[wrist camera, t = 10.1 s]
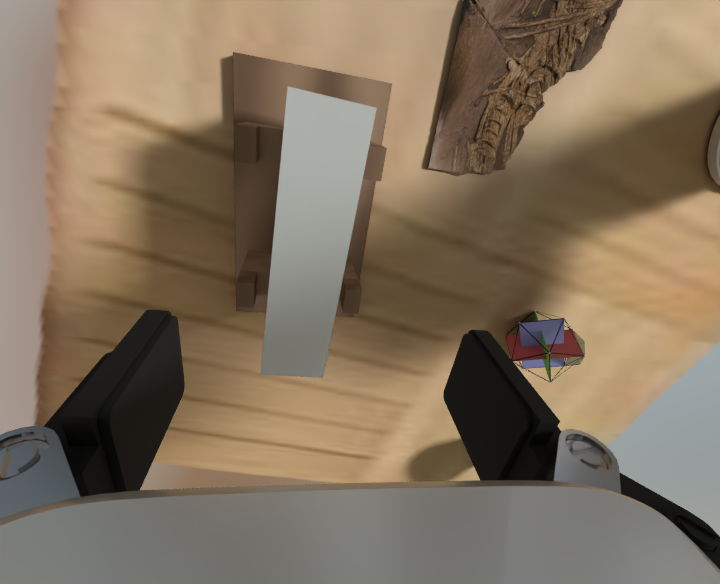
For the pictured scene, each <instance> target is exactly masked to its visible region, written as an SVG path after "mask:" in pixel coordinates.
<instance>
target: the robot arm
mask: <svg viewBox="0 0 720 584" xmlns="http://www.w3.org/2000/svg"><path fill="white" fill-rule="evenodd" d="M707 156H708V168H709V171H710V175H711V177H712V178H713V180H714V181H715V183H716V184H718V185H719V186H720V115H719V117H718V119H717V121H716V124H715V126H714V128H713V131H712V135H711V138H710V141H709V147H708V154H707ZM183 392H184V374H183V365H182V356H181V347H180V337H179V328H178V320H177V317H176V316H171V313H170V312H169V311H161V310H147V311H146V312H145V313H144V314H143V315H142V316H141V317H140V319H139V320H138V321H137V322H136V324H135V325H134V326H133V327H132V328H131V330H130V331H129V332H128V333H127V334H126V336H125V337H124V338H123V339H122V340H121V342H120V343H119V344H118V345H117V347H116V348H115V349H114V350H113V351H112V352H110V353H107V354H105V355H104V356H103V357H102V358H101V359H100V361H99V362H98V363H97V364H96V365H95V367H94V368H93V369H92V370H91V371H90V372H89V374H88V375H87V376H86V377H85V378H84V380H83V381H82V382H81V383H80V384H79V385H78V387H77V388H76V389H75V390H74V391H73V392H72V394H71V395H70V396H69V397H68V398H67V400H66V401H65V402H64V403H63V404H62V405H61V407H60V408H59V409H58V410H57V411H56V413H55V414H54V415H53V416H52V417H51V418H50V420H49V421H48V422H47V423H46V424H45V426H44V427H40V426H31V427H24V428H19V429H16V430H13V431H9V432H6V433H4V434H1V435H0V584H720V537H719V535H718V534H716V532H715V531H714V530H713V529H712V528H711V527H710V526H709V525H708V524H706V523H705V522H704V521H703V520H701V519H700V518H698V517H697V516H695V515H693V514H692V513H690V512H689V511H687V510H685V509H684V508H682V507H680V506H678V505H676V504H675V503H673V502H671V501H669V500H667V499H666V498H664V497H662V496H660V495H659V494H657V493H655V492H653V491H651V490H650V489H648V488H646V487H644V486H643V485H641V484H639V483H637V482H635V481H634V480H632V479H630V478H628V477H627V476H625V475H623V474H621V473H619V465H618V462H617V459H616V458H615V456H614V455H613V453H612V452H611V451H610V450H609V449H608V448H607V447H606V446H605V445H604V444H603V443H602V442H600V441H599V440H598V439H596V438H595V437H593V436H591V435H589V434H587V433H585V432H582V431H579V430H574V429H566V430H564V431H562V432H561V431H560V429H559V428H558V427H557V426H558V424H559V422H560V421H559V420H558V418H557V417H556V416H555V414H554V413H553V412H552V411H551V409H550V408H549V407H548V406H547V404H546V403H545V402H544V401H543V399H542V398H541V397H540V396H539V394H538V393H537V392H536V391H535V389H534V388H533V387H532V385H531V384H530V383H529V382H528V380H527V379H526V378H525V377H524V375H523V374H522V373H521V372H520V370H519V369H518V368H517V367H516V365H515V364H514V363H513V362H512V360H511V359H510V358H509V357H508V355H507V354H506V353H505V351H504V350H503V349H502V348H501V346H500V345H499V344H498V343H497V341H496V340H495V339H494V338H493V336H492V335H491V334H490V333H489V332H488V331H482V330H470V331H469V332H468V334H465V335H464V336H463V339H462V341H461V344H460V347H459V350H458V353H457V355H456V358H455V361H454V364H453V367H452V370H451V372H450V375H449V378H448V381H447V384H446V387H445V389H444V401H445V403H446V405H447V407H448V410H449V412H450V414H451V416H452V418H453V421H454V423H455V425H456V427H457V430H458V432H459V434H460V436H461V438H462V441H463V443H464V445H465V447H466V449H467V452H468V454H469V456H470V458H471V460H472V463H473V465H474V467H475V469H476V471H477V474H478V476H479V478H480V480H481V481H429V482H383V483H342V484H304V485H271V486H270V485H269V486H236V487H205V488H183V489H161V490H140V488H141V486H142V484H143V481H144V479H145V477H146V475H147V473H148V470H149V468H150V466H151V464H152V462H153V460H154V457H155V455H156V453H157V451H158V449H159V446H160V444H161V442H162V440H163V437H164V435H165V433H166V431H167V429H168V426H169V424H170V422H171V420H172V418H173V415H174V413H175V411H176V409H177V407H178V404H179V402H180V400H181V398H182V395H183Z"/></svg>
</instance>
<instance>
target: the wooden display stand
mask: <svg viewBox="0 0 720 584" xmlns="http://www.w3.org/2000/svg"><path fill="white" fill-rule="evenodd" d="M288 86H289V87H293V88H297V89H301V90H305V91H309V92H313V93H318V94H322V95H326V96H330V97H334V98H338V99H342V100H346V101H351V102H355V103H359V104H363V105H367V106H371V107H375V108H377V109H376V114H375V119H374V124H373V130H372V135H371V140H370V145H369V150H368V155H367V160H366V165H365V170H364V175H363V180H362V185H361V190H360V195H359V200H358V205H357V210H356V215H355V220H354V225H353V230H352V235H351V240H350V245H349V250H348V255H347V260H346V265H345V270H344V275H343V280H342V285H341V290H340V295H339V300H338V305H337V310H336V315H335V316H345V317H353V314H354V313H358V310H359V304H360V298H361V293H362V290H361V287H360V284H359V278H360V272H361V266H362V260H363V254H364V248H365V242H366V236H367V230H368V224H369V218H370V212H371V206H372V200H373V194H374V188H375V182H376V181H381V178H382V172H383V166H384V160H385V154H386V149H387V148H385V147H383V146H382V140H383V134H384V128H385V122H386V116H387V110H388V104H389V99H390V93H391V87H392V84H391V83H386V82H381V81H376V80H371V79H366V78H361V77H356V76H351V75H346V74H341V73H336V72H331V71H326V70H321V69H316V68H311V67H306V66H301V65H296V64H291V63H285V62H280V61H275V60H270V59H265V58H260V57H255V56H250V55H245V54H240V53H235V52H233V88H234V166H235V244H236V311H247V312H266V310H267V300H268V289H269V279H270V268H271V257H272V247H273V236H274V226H275V215H276V204H277V194H278V183H279V172H280V162H281V151H282V141H283V130H284V119H285V109H286V98H287V88H288Z"/></svg>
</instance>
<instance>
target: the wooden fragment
mask: <svg viewBox="0 0 720 584" xmlns="http://www.w3.org/2000/svg"><path fill="white" fill-rule="evenodd" d="M475 1H476V2H477V3H476V4H473V3H472V1H471V0H464V3H463V9H462V20H461V23H460V27H459V32H458V36H457V41H456V46H455V50H454V54H453V58H452V63H451V68H450V72H449V76H448V80H447V85H446V90H445V93H444V98H443V102H442V106H441V112H440V115H439V120H438V125H437V127H436V133H435V137H434V142H433V148H432V152H431V157H430V163H429V167H428V168H427V169H430V170H435V171H440V172H445V173H448V174H451V175H454V176H459V175H463V174H466V173H469V172H474V173H479V174H482V175H484V174H490V173H491V172H492V171H493V170H496V169H505V163H506V162H507V161H508V160H509V159H510V158H511V154H512V153H513V151H514V150H515V148H516V147H517V146H518V144H519V142H520V140H521V138H522V136H523V134H524V130H523V128H524V127H525V126H526V125H527V124H528V123H529V121H532V120H533V118H534V117H535V114H536V112H537V111H538V110H539V109H540V108H542V107H543V106H544V102H543V95H542V94H543V93H544V92H545V91H546V90H547V89H548V88H549V87H550V86H553V85H555V84H557V83H558V81H559V80H560V79H561V78H562V77H563V76H564V75H565V72H568V71H574V70H581V69H582V68H584V67H585V66H586V65H587V64H588V63H589V62H590V61H591V60H592V58H593V57H594V56H595V55H596V53H597V52H598V51H599V50H600V49H601V48H602V44H603V41H604V39H605V36H606V33H607V32H608V30H609V29H610V26H611V23H612V21H613V20H614V18H615V16H616V13H617V9H618V8H619V7H620V6H621V4H622V2H623V0H475Z"/></svg>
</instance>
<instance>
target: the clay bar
mask: <svg viewBox="0 0 720 584" xmlns="http://www.w3.org/2000/svg"><path fill="white" fill-rule="evenodd" d="M376 109H377V108H375V107H371V106H367V105H363V104H359V103H355V102H351V101H346V100H342V99H338V98H334V97H330V96H326V95H322V94H318V93H313V92H309V91H305V90H301V89H297V88H293V87H289V86H288V88H287V98H286V109H285V119H284V130H283V141H282V151H281V162H280V172H279V183H278V194H277V204H276V215H275V226H274V236H273V247H272V257H271V268H270V279H269V289H268V300H267V310H266V321H265V332H264V342H263V353H262V364H261V374H263V375H282V376H300V377H319V378H323V376H324V371H325V366H326V361H327V356H328V351H329V346H330V341H331V336H332V331H333V325H334V320H335V315H336V310H337V305H338V300H339V295H340V290H341V285H342V280H343V275H344V270H345V265H346V260H347V255H348V250H349V245H350V240H351V235H352V230H353V225H354V220H355V215H356V210H357V205H358V200H359V195H360V190H361V185H362V180H363V175H364V170H365V165H366V160H367V155H368V150H369V145H370V140H371V135H372V130H373V124H374V119H375V114H376Z"/></svg>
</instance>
